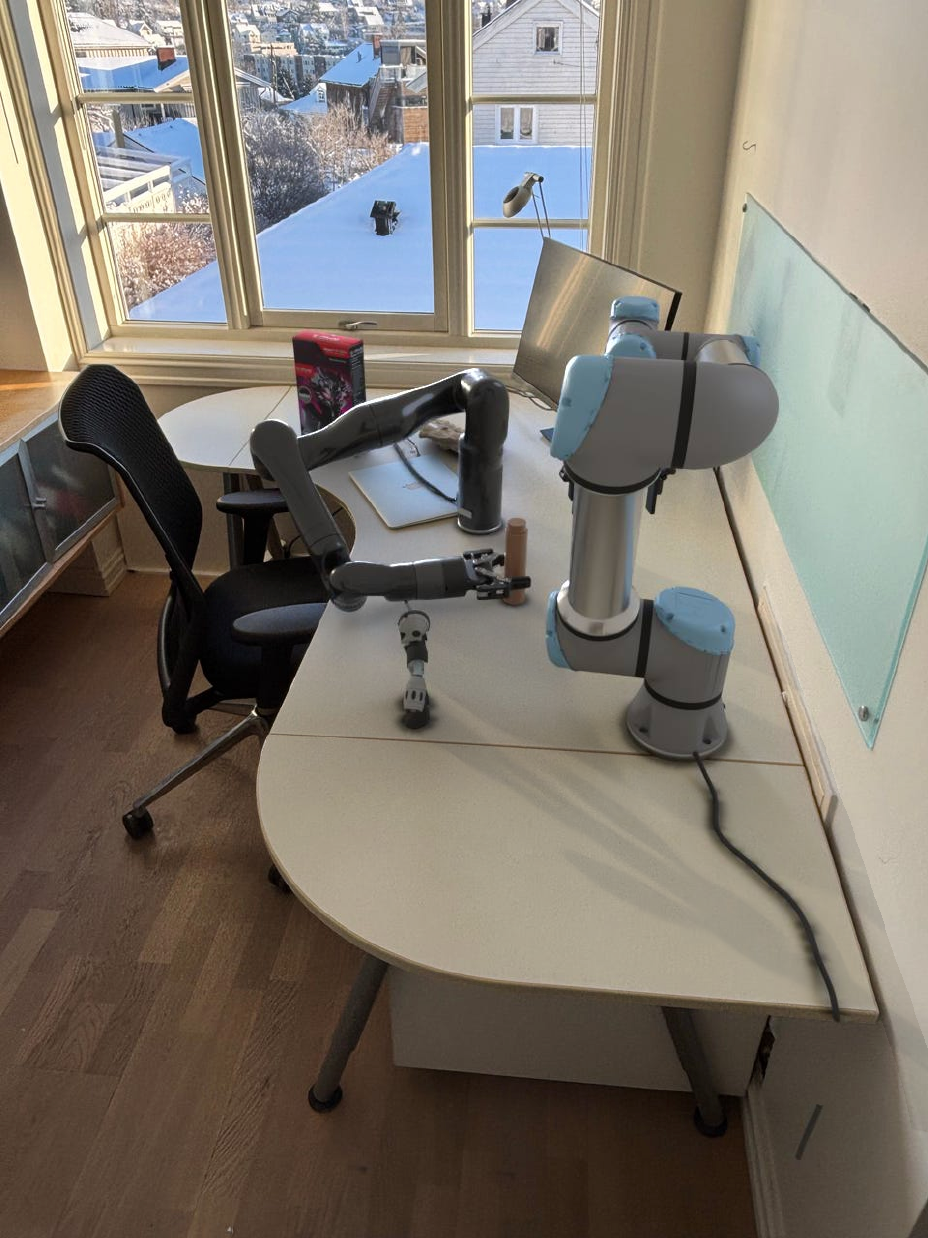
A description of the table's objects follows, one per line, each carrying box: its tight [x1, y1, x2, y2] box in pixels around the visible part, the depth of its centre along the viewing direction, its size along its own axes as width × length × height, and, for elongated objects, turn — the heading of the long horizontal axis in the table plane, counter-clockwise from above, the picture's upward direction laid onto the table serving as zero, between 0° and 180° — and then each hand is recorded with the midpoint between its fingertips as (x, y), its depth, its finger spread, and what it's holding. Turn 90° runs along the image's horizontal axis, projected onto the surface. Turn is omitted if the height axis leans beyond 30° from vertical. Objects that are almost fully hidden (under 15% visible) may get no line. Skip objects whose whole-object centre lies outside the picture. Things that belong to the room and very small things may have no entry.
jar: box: [502, 517, 529, 606], centre depth 170 cm, size 4×4×16 cm
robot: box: [396, 599, 431, 729], centre depth 141 cm, size 20×5×20 cm, turn 3°
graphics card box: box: [291, 329, 367, 436], centre depth 226 cm, size 17×7×27 cm, turn 62°
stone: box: [418, 418, 465, 454], centre depth 230 cm, size 21×15×6 cm
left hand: (524, 570), depth 171 cm, fingers open, 8 cm apart
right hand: (613, 513), depth 162 cm, fingers open, 13 cm apart
